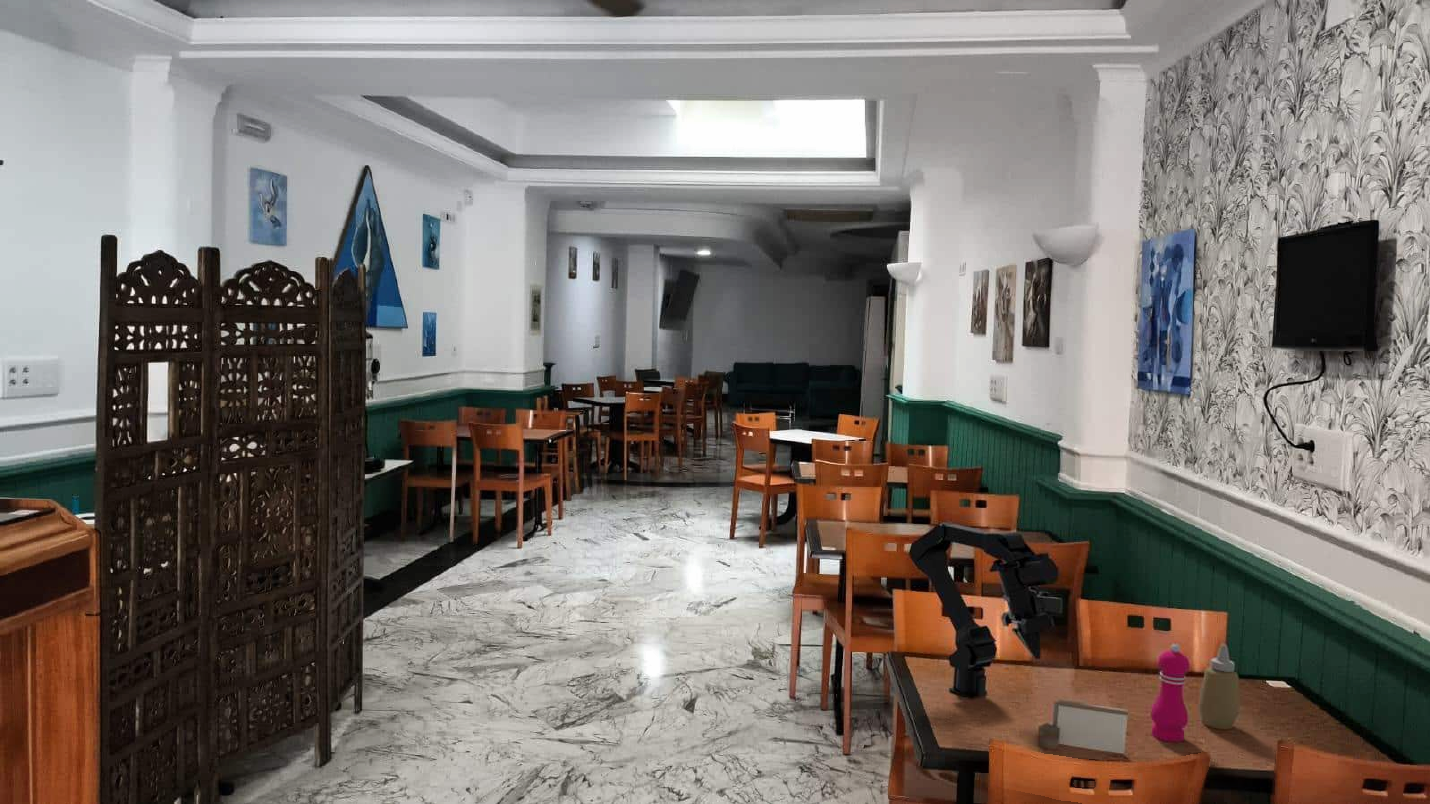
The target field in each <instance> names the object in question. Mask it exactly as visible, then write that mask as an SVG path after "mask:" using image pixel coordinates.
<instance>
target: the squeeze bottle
mask: <svg viewBox="0 0 1430 804" xmlns="http://www.w3.org/2000/svg"><path fill="white" fill-rule="evenodd" d="M1209 665H1210V666H1209V667H1207V668H1206V669H1204V675H1203V678H1202V679H1203V680H1202V683H1201V684H1202V685H1201V689H1200V693H1199V698H1198V699H1199V700H1198V709H1199V713H1200V718H1201V720H1202V723H1203V724H1205V725H1206V726H1208V727H1211V728H1214V729H1219V730H1229V729H1232V728H1233V726H1234V724H1235V722H1236V721H1237V718H1238V717H1239V715H1240V696H1239V695H1240V689H1239V686H1240V685H1239V684H1240V683H1239V675H1238V673H1236V672H1235V667H1236V666H1235V665H1236V664H1235V662H1234V661H1232V660H1230V655H1229V649H1228V645H1227V644H1225V643H1224V644H1223V643H1222V644H1221V645H1220V648H1219V650H1218V653H1217V655H1216V657H1213V658H1211V659H1210V664H1209Z"/></svg>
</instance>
